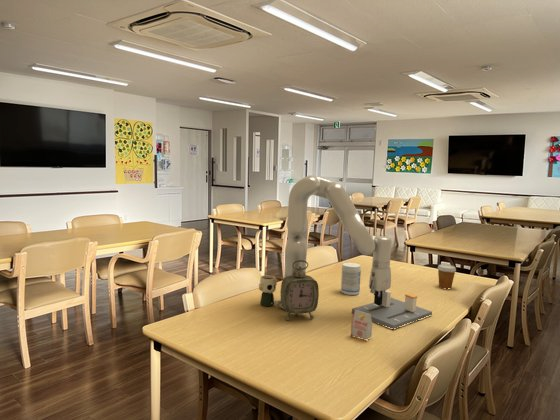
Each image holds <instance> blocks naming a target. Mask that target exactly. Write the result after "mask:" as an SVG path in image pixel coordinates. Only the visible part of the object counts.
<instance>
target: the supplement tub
mask: <svg viewBox="0 0 560 420" xmlns="http://www.w3.org/2000/svg"><path fill="white" fill-rule="evenodd" d="M361 269H362V268H361V264H359V263H355V262H344V263H342V266H341V282H340V291H341V293H342V294H344V295H346V296H347V295H348V296H355V295H359V294H360V290H361V289H360V288H361V274H362V272H361V271H362V270H361Z"/></svg>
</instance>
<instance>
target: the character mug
mask: <svg viewBox="0 0 560 420" xmlns="http://www.w3.org/2000/svg"><path fill="white" fill-rule="evenodd" d="M277 283H278V280H277V277H276V276H274V275H269V274H267V275H266V274H265V275H264V274H263V275H261V276H260V280H259V283H258V290H259V291H260V292H262V293H261V295H260V296H261V297H260V302H259V303H260V304H261V305H263V306H264V307H270V306H274V305H275V297H274V292H276V290H277V288H276V287H277Z"/></svg>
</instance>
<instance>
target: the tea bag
mask: <svg viewBox="0 0 560 420" xmlns="http://www.w3.org/2000/svg"><path fill="white" fill-rule="evenodd" d="M372 330H373V322H372V319H371V314H369V313H365V312H362V311H358V310H354V314H353V316H352V319H351V328H350V336H351V335H352V336H351V337H353V336H355V337H354V338H356V337H360V338H363V339H368V338H370V337H371V338H372V335H373V333H372V332H373V331H372Z"/></svg>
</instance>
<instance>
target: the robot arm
mask: <svg viewBox="0 0 560 420" xmlns="http://www.w3.org/2000/svg"><path fill="white" fill-rule="evenodd" d="M311 196H315V197H320V198H323V199H326V200H328V202H329V204H330V205H331V207H332V209H333V211H334V212H335V214H336V215H337V217H338V219H339V221H340V223H341V224H342V225H343V227H344V228H345V230H346V232H348V235H349V236H350V238H351V239H352V241H353V243H354V244H355V245H354V246H356V248H357V250H358V251H359V252H360V254H362V255H363V256H364V255H365V256H368V255H371V254H372V265H371V266H372V267H371V270H370V276H369V284H368V287H369V289H370V293H371V294H373V297H374V299H373V303H374V304H376V305H382V298H383V295H384V292H385V291H386V290H387V291H388V290H389V289H390V288H391V285H392V270H391V255H392V242H393V241H392V239H391V237H389V236H386V235H385V236H384V235H372V234H370V232H369V230H368V228H367V227H366V225H365V222H364V221H363V220H362V218H361V216H360V213H359V211H358V209H357V208H356V207H355V205H354V203H353V201H352V200H351V198H350V196H349V193H348V192H347V190H346V189H345V187H344V186H343V185H342V184H341V183H339V182H336V181H332V180H328V179H325V178H323V177H319V176H315V175H307V176H305V177H303V178H301V179H300V180H298V181H297V182H295V184H294V185H293V186H292V188H291V189H290V192H289V194H288V202H287V206H288V207H287V221H286V228H287V237H286V239H287V241H286V244H285V247H284V248H285V249H284V271H283V272H284V277H286V276H291V275H294V273H295V272H296V271H298V270H296V269H294V268H293V267H292V265H293V263H294V262H295V261H297V260H304V261H306V262H307V255H308V254H307V252H308V236H309V235H308V233H309V231H308V230H309V219H308V203H309V202H308V201H309V198H310V197H311ZM293 266H294V267H295V268H299V267H302V268H305V267H307V263H305V262H296V263H295V264H294V265H293ZM306 269H307V268H306ZM306 269H304V270H301V271H304V272H305V274H306ZM306 275H307V274H306ZM284 277H283V278H284ZM274 305H275V306H279V307H280V308H282V309H283V310H285V308H284V307H283V306H282V303H281V299H278V300H274Z"/></svg>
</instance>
